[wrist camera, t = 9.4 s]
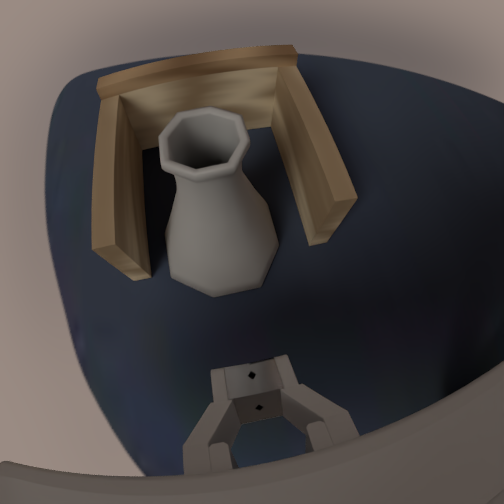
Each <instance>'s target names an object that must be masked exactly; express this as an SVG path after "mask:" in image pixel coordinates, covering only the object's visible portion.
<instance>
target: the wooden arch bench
mask: <svg viewBox="0 0 504 504" xmlns="http://www.w3.org/2000/svg"><path fill="white" fill-rule="evenodd" d="M297 57H298V53H297V52H296V50H295V48H294V47H293V45H271V46H256V47H246V48H235V49H226V50H218V51H212V52H205V53H198V54H192V55H187V56H182V57H176V58H172V59H167V60H162V61H158V62H154V63H149V64H145V65H141V66H138V67H134V68H130V69H127V70H123V71H120V72H116V73H113V74H110V75H107V76H104V77H101V78H99V79H98V84H97V88H96V90H97V92H98V94H99V96H100V98H101V106H100V112H99V120H98V128H97V136H96V146H95V157H94V170H93V188H92V250H93V251H95V252H96V253H97V254H98V255H100V256H101V257H102V258H104V259H105V260H106V261H108V262H109V263H110V264H112V265H113V266H114V267H116V268H117V269H118V270H120V271H121V272H122V273H124V274H125V275H127V276H128V277H129V278H131V279H132V280H134V281H136V280H141V279H146V278H151V277H152V275H151V267H150V258H149V249H148V239H147V228H146V216H145V202H144V185H143V162H142V150H145V149H149V148H153V147H157V146H159V137H158V136H159V135H160V134H161V132H162V131H163V130H164V128H165V127H166V126H167V125H168V123H169V122H170V121H171V119H172V118H173V117H174V116H175V114H176V113H177V112H181V111H186V110H191V109H196V108H201V107H206V106H214V107H217V108H221V109H225V110H228V111H231V112H235V113H238V114H241V115H242V116H243V119H244V122H245V125H246V129H247V130H248V129H255V128H263V127H271V129H272V131H273V134H274V137H275V140H276V143H277V146H278V149H279V152H280V155H281V158H282V161H283V164H284V167H285V170H286V173H287V176H288V179H289V182H290V185H291V188H292V191H293V194H294V198H295V201H296V204H297V207H298V210H299V214H300V217H301V220H302V224H303V227H304V230H305V234H306V237H307V240H308V244H309V246H312V245H316V244H321V243H326V242H327V241H328V240H329V238H330V237H331V236H332V234H333V233H334V231H335V230H336V229H337V227H338V226H339V224H340V223H341V221H342V220H343V219H344V217H345V216H346V214H347V213H348V211H349V210H350V209H351V207H352V206H353V204H354V203H355V201H356V200H357V198H358V197H357V194H356V192H355V189H354V187H353V184H352V182H351V179H350V177H349V175H348V172H347V170H346V167H345V165H344V163H343V160H342V158H341V156H340V154H339V151H338V149H337V147H336V145H335V142H334V140H333V138H332V136H331V134H330V131H329V129H328V127H327V125H326V123H325V121H324V119H323V117H322V115H321V113H320V111H319V109H318V107H317V105H316V103H315V101H314V99H313V97H312V95H311V93H310V91H309V89H308V87H307V85H306V83H305V81H304V80H303V78H302V76H301V74H300V72H299V70H298V69H297V67H296V63H297Z"/></svg>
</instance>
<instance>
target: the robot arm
mask: <svg viewBox="0 0 504 504" xmlns="http://www.w3.org/2000/svg"><path fill="white" fill-rule="evenodd" d="M211 381H212V390H213V399H214V403H210V404H209V406H208V407H207V409H206V411H205V412H204V414H203V415H202V417H201V419H200V420H199V422H198V423H197V425H196V426H195V428H194V430H193V431H192V433H191V434H190V436H189V437H188V439H187V441H186V442H185V444H184V445H183V462H184V475H173V476H146V477H129V476H126V477H125V476H103V475H89V474H78V473H70V472H62V471H55V470H49V469H43V468H37V467H32V466H27V465H22V464H18V463H14V462H10V461H3V462H1V463H0V504H504V361H502V362H501V363H500V364H498V365H497V366H495V367H494V368H492V369H491V370H489V371H488V372H486V373H485V374H483V375H482V376H480V377H479V378H477V379H475V380H474V381H472V382H471V383H469V384H467V385H466V386H464V387H462V388H461V389H459V390H457V391H456V392H454V393H452V394H450V395H448V396H447V397H445V398H443V399H441V400H439V401H437V402H436V403H434V404H432V405H430V406H428V407H426V408H424V409H422V410H420V411H418V412H416V413H414V414H412V415H409V416H407V417H405V418H403V419H401V420H398V421H396V422H394V423H392V424H389V425H387V426H385V427H382V428H380V429H377V430H375V431H372V432H370V433H367V434H364V435H362V436H359V433H358V431H357V429H356V427H355V425H354V423H353V421H352V419H351V417H350V415H349V413H348V411H347V410H345V409H343V408H341V407H340V406H338V405H336V404H335V403H333V402H331V401H330V400H328V399H326V398H325V397H323V396H321V395H320V394H318V393H316V392H315V391H313V390H312V389H310V388H308V387H307V386H305V385H304V384H298V381H297V379H296V376H295V373H294V371H293V368H292V366H291V363H290V360H289V358H288V356H287V355H282V356H278V357H274V358H269V359H265V360H260V361H256V362H251V363H248V364H242V365H236V366H230V367H224V368H219V369H213V370H211ZM278 416H283V417H285V418H286V419H287V420H288V421H289V422H291V423H292V424H293V425H294V426H295V427H297V428H298V429H299V430H300V431H302V432H303V433H304V434H305V435H306V450H305V454H302V455H298V456H295V457H291V458H286V459H282V460H278V461H274V462H269V463H264V464H259V465H254V466H249V467H243V468H239V467H238V465H237V463H236V461H235V458H234V456H233V454H232V452H231V450H230V449H231V447H232V445H233V443H234V440H235V438H236V436H237V434H238V431H239V429H240V427H241V424H245V423H250V422H254V421H259V420H263V419H268V418H273V417H278Z"/></svg>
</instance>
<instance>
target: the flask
mask: <svg viewBox="0 0 504 504" xmlns="http://www.w3.org/2000/svg"><path fill="white" fill-rule="evenodd" d="M158 137H159V149H160V161H161V167H162V169H163V170H164V171H165V172H168V173H171V174H174V177H175V180H176V184H177V191H176V195H175V199H174V203H173V207H172V211H171V215H170V218H169V221H168V224H167V227H166V231H165V241H166V248H167V255H168V262H169V268H170V274H171V278H173V279H175V280H177V281H179V282H181V283H183V284H185V285H187V286H190V287H192V288H194V289H196V290H198V291H200V292H202V293H205V294H207V295H209V296H211V297H213V298H214V297H218V296H223V295H228V294H232V293H237V292H241V291H246V290H250V289H255V288H259V287H261V286H262V284H263V282H264V279H265V277H266V275H267V272H268V270H269V268H270V266H271V263H272V261H273V259H274V256H275V254H276V252H277V249H278V247H279V242H278V239H277V235H276V232H275V228H274V225H273V221H272V218H271V214H270V211H269V207H268V204H267V203H266V201H265V200H264V199H263V198H262V197H261V195H260V194H259V193H258V192H257V191H256V190H255V188H254V187H253V186H252V184H251V183H250V181H249V180H248V179H247V177H246V176H245V174H244V173H243V171H242V159H243V158H244V156H245V154H246V152H247V151H248V149H249V147H250V138H249V135H248V132H247V129H246V125H245V122H244V119H243V116H242V115H241V114H238V113H235V112H231V111H228V110H225V109H221V108H217V107H214V106H206V107H201V108H196V109H191V110H186V111H181V112H177V113H176V114H175V116H174V117H173V118H172V119H171V121H170V122H169V123H168V125H167V126H166V127H165V128H164V130H163V131H162V132H161V134H160V135H159V136H158Z"/></svg>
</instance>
